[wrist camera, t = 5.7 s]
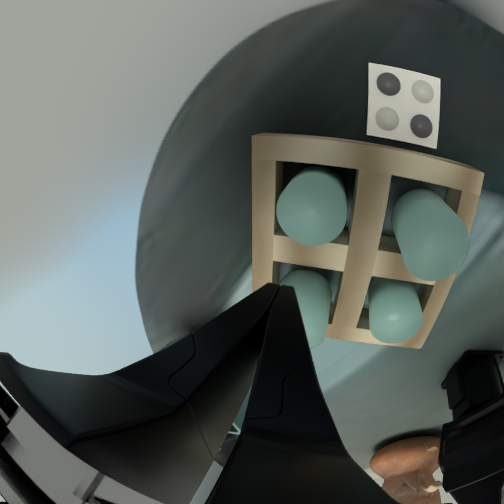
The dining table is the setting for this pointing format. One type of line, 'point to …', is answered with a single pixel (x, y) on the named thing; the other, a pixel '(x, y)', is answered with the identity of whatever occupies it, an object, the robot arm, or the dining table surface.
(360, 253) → the board
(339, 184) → the button
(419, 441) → the ceramic jug
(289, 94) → the dining table surface
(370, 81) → the card
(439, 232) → the button
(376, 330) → the button
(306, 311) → the button
